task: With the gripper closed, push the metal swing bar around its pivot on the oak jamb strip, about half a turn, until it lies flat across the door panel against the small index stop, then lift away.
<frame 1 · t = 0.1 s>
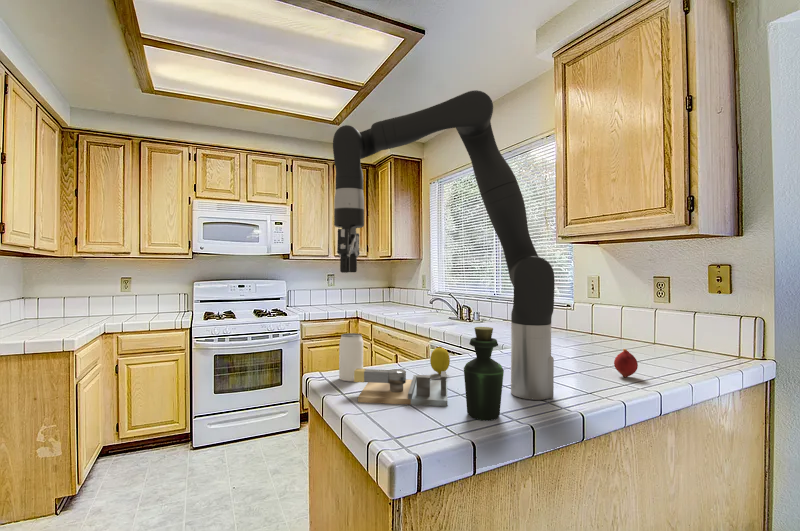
hand: (348, 272, 104), 29 cm above the counter, tool pointing down, fingers open, 8 cm apart
potion bottle: (483, 416, 85), on the counter
onion: (625, 377, 116), on the counter
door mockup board: (405, 393, 100), on the counter
can: (351, 379, 112), on the counter
lemon: (439, 375, 118), on the counter
swing bar: (380, 376, 98), point 4 cm above the counter, hinge at 0.0°
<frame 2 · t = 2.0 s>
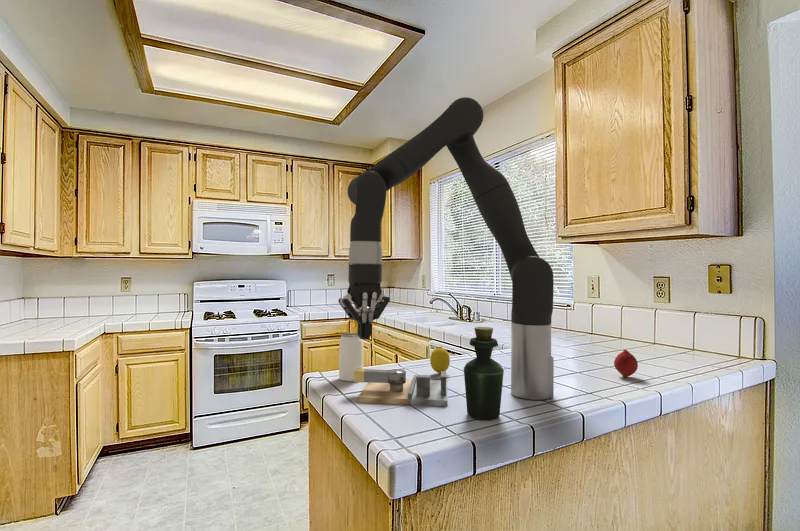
hand: (364, 338, 93), 14 cm above the counter, tool pointing down, fingers closed
nothing on the counter moved.
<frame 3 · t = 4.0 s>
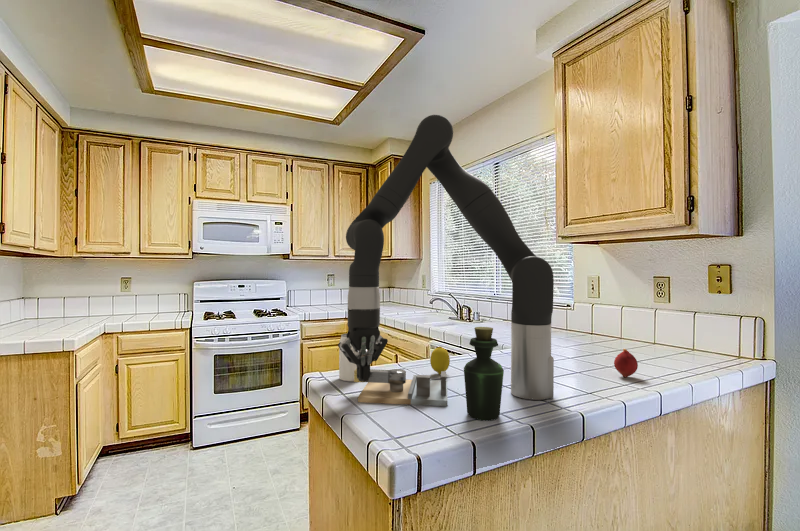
hand: (363, 380, 96), 4 cm above the counter, tool pointing down, fingers closed
swing bar: (380, 376, 98), point 4 cm above the counter, hinge at -0.1°, touching gripper
everything else where it was.
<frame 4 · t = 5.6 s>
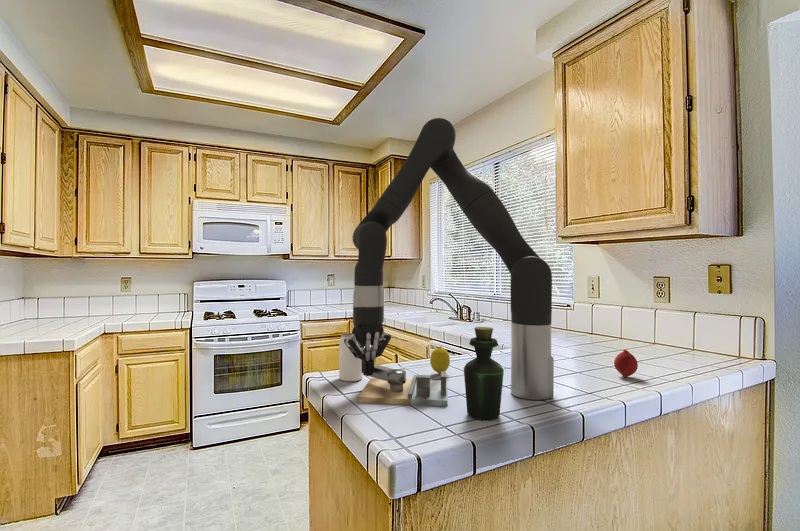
hand: (367, 375, 101), 4 cm above the counter, tool pointing down, fingers closed
swing bar: (385, 373, 101), point 4 cm above the counter, hinge at -38.0°, touching gripper
everything else where it was.
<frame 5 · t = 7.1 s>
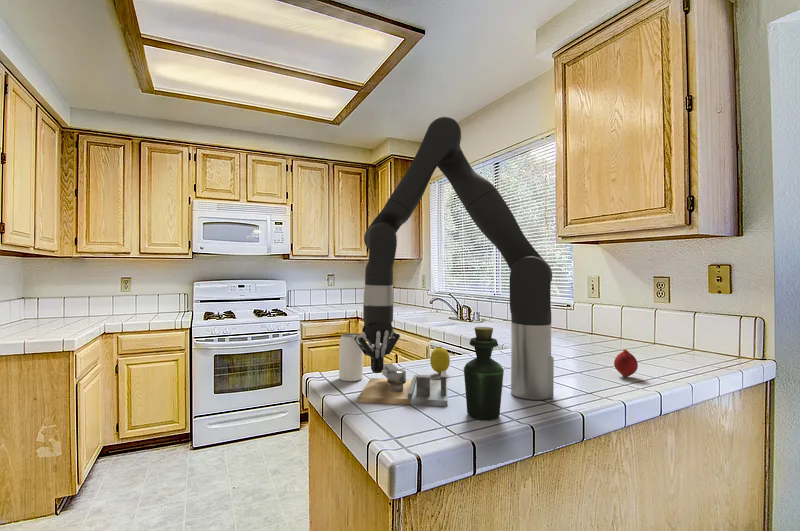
hand: (376, 372, 103), 4 cm above the counter, tool pointing down, fingers closed
swing bar: (391, 372, 102), point 4 cm above the counter, hinge at -65.8°, touching gripper
everything else where it was.
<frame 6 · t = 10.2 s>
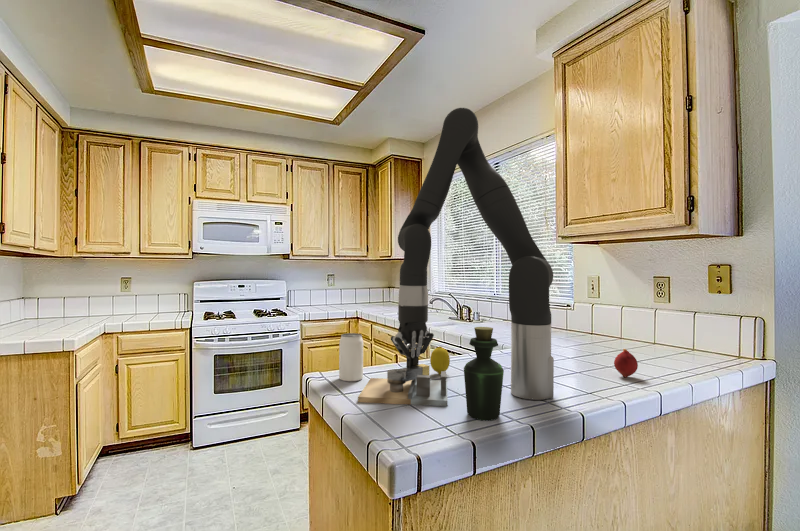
hand: (412, 371, 105), 4 cm above the counter, tool pointing down, fingers closed
swing bar: (408, 373, 101), point 4 cm above the counter, hinge at -131.2°, touching gripper
everything else where it was.
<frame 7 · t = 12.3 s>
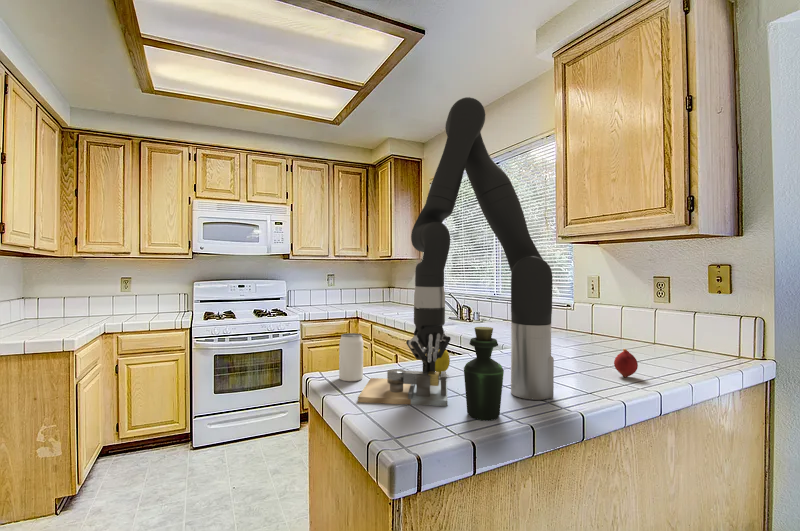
hand: (428, 376, 100), 4 cm above the counter, tool pointing down, fingers closed
swing bar: (412, 377, 97), point 4 cm above the counter, hinge at -183.1°, touching gripper
everything else where it was.
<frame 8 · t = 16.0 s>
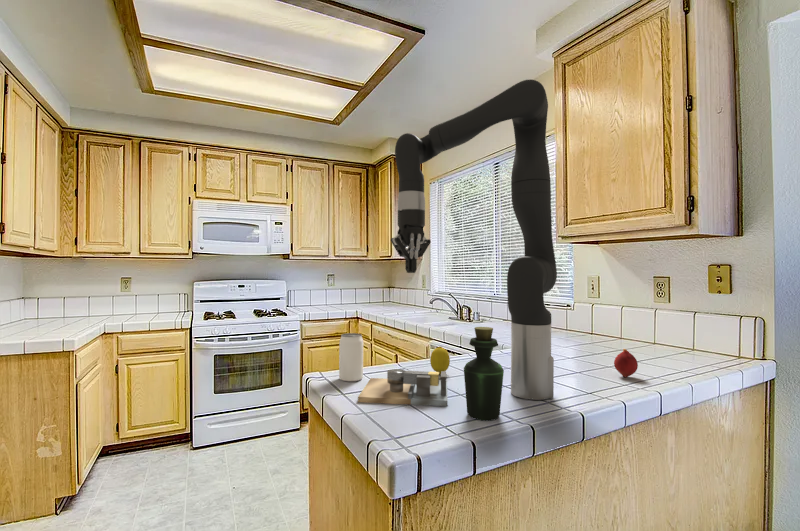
hand: (410, 272, 113), 29 cm above the counter, tool pointing down, fingers closed
swing bar: (412, 377, 97), point 4 cm above the counter, hinge at -183.2°, touching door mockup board
everything else where it was.
at the end: swing bar at -183° (first picture: +0°); the gripper is holding nothing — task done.
